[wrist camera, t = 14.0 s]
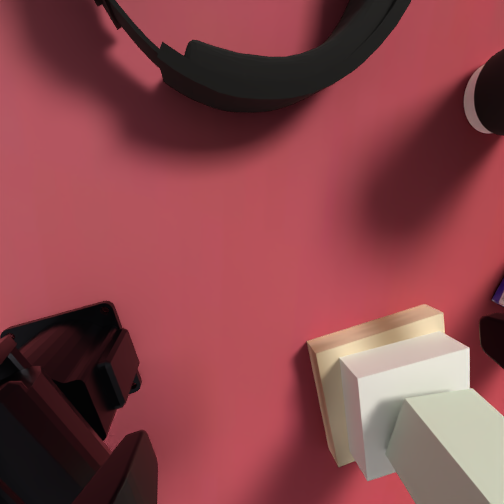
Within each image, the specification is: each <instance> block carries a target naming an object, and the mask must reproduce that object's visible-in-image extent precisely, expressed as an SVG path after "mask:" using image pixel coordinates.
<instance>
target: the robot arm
mask: <svg viewBox="0 0 504 504" xmlns="http://www.w3.org/2000/svg"><path fill="white" fill-rule="evenodd" d="M102 307H107V308H108V309H109V312H104V311H103V310H102ZM479 331H480V345H481V347H482V349H483V351H484V352H485V353H486V354H487V355H488V356H489V357H491V358H492V359H493V360H494V361H495V362H496V363H497V364H499V365H500V366H501V367H502V368H503V369H504V313H497V312H496V313H491V314H488V315H485V316H483V317H481V318H480V320H479ZM9 333H12V334H14V335H15V338H12V337H11V336H10V334H9ZM138 366H139V360H138V357H137V354H136V351H135V349H134V346H133V343H132V340H131V338H130V335H129V332H128V330H126V329H124V328H122V325H121V323H120V320H119V317H118V314H117V312H116V309H115V306H114V305H113V303H111V302H109V301H103V302H99V303H95V304H92V305H88V306H84V307H81V308H77V309H73V310H70V311H66V312H62V313H59V314H55V315H52V316H48V317H44V318H41V319H37V320H33V321H30V322H26V323H22V324H19V325H15V326H11V327H9V328H7V329H6V330H4V331H3V332H2V333H1V339H0V504H157V485H158V464H157V458H156V455H155V452H154V450H153V447H152V444H151V442H150V439H149V436H148V434H147V432H146V431H145V430H140V431H137V432H134V433H131V434H128V435H126V436H125V437H124V438H123V440H122V441H121V442H120V443H119V445H118V446H117V447H116V448H115V450H114V451H113V452H111V450H110V449H109V448H108V447H107V446H106V444H105V443H104V442H103V440H105V438H106V437H107V434H108V431H109V429H110V426H111V423H112V421H113V418H114V415H115V413H116V410H117V409H119V408H122V407H123V406H124V405H125V403H126V401H127V398H128V395H129V394H131V393H134V392H136V391H138V390H139V389H140V386H141V383H142V381H141V377H140V375H139V372H138ZM133 382H134V383H136V384H137V385H132V383H133Z"/></svg>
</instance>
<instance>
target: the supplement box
mask: <svg viewBox="0 0 504 504" xmlns="http://www.w3.org/2000/svg"><path fill="white" fill-rule="evenodd" d="M492 301H493V302H495V303H497V304H499V305H501V306H503V307H504V278H503V280H502V282H501V284H500V285H499V287H498V289H497V291H496V292H495V294H494V296H493V298H492Z"/></svg>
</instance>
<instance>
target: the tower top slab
mask: <svg viewBox="0 0 504 504" xmlns="http://www.w3.org/2000/svg"><path fill="white" fill-rule="evenodd" d="M339 360H340V369H341V379H342V388H343V397H344V406H345V416H346V425H347V434H348V443H349V451H350V453H351V454H352V456H353V458H354V459H355V461H356V463H357V464H358V466H359V468H360V469H361V471H362V473H363V475H364V476H365V478H366V480H367V481H370V480H373V479H376V478H379V477H382V476H385V475H388V474H391V473H394V472H396V471H395V469H394V468H393V466H392V464H391V463H390V461H389V459H388V458H387V456H386V455H385V453H386V450H387V447H388V444H389V441H390V439H391V436H392V433H393V430H394V427H395V425H396V422H397V419H398V416H399V413H400V410H401V408H402V405H403V402H404V399H405V398H411V397H417V396H424V395H431V394H438V393H444V392H451V391H458V390H465V389H470V348H469V347H467V346H466V345H464V344H462V343H460V342H458V341H457V340H455V339H453V338H451V337H450V336H448V335H446V334H444V333H442V332H441V331H437V332H433V333H430V334H426V335H422V336H418V337H415V338H411V339H407V340H403V341H399V342H396V343H392V344H388V345H384V346H381V347H377V348H373V349H369V350H365V351H362V352H358V353H354V354H350V355H347V356H343V357H339Z"/></svg>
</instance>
